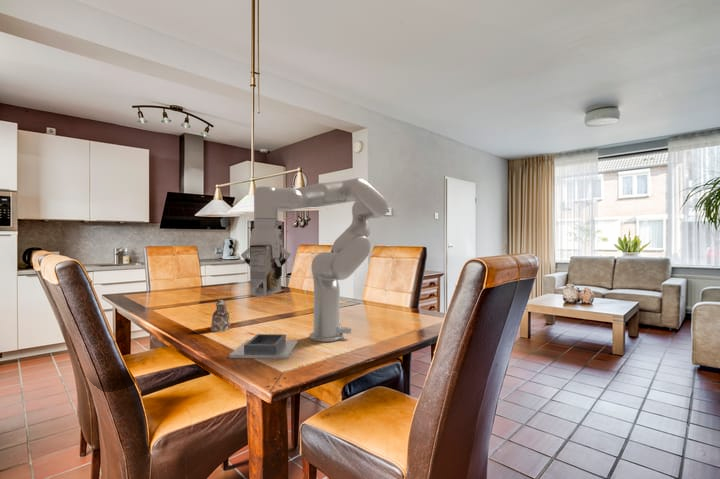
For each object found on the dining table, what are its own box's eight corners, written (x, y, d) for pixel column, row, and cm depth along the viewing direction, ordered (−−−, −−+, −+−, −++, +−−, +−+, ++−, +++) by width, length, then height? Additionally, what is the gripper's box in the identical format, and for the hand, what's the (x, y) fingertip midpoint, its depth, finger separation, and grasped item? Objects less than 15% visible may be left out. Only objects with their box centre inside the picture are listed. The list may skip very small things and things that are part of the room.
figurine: (212, 332, 139) (212, 301, 139) (209, 328, 145) (209, 299, 145) (231, 330, 142) (231, 300, 142) (227, 326, 148) (228, 297, 148)
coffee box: (265, 291, 123) (264, 244, 122) (281, 292, 121) (281, 244, 120) (249, 295, 114) (249, 244, 114) (266, 296, 112) (266, 245, 112)
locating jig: (298, 343, 125) (298, 333, 125) (287, 358, 109) (287, 347, 109) (247, 342, 125) (247, 332, 125) (229, 358, 109) (229, 346, 109)
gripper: (294, 225, 121) (294, 277, 121) (244, 225, 121) (244, 277, 121) (289, 224, 113) (289, 280, 113) (235, 224, 114) (235, 279, 114)
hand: (266, 278), depth 117 cm, fingers closed on coffee box, 7 cm apart
